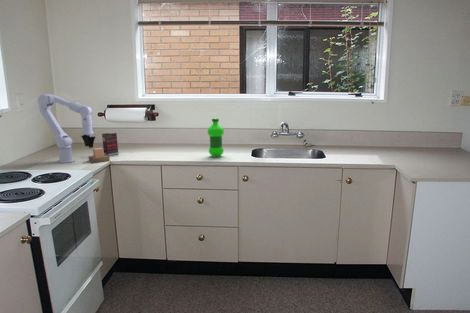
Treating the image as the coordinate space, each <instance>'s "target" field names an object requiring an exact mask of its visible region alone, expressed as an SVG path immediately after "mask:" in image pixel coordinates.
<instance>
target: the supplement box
mask: <svg viewBox="0 0 470 313" xmlns="http://www.w3.org/2000/svg"><path fill="white" fill-rule="evenodd" d="M117 135H118V134H117V132H116V131H115V132H114V131H113V132H105V133H102V134H101V136H102V146H103V147H102V148H103V152H104V155H107V156H112V157H114V156H113V155H118V156H119V146H118V136H117Z"/></svg>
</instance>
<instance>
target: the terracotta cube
mask: <svg viewBox="0 0 470 313" xmlns="http://www.w3.org/2000/svg"><path fill="white" fill-rule="evenodd" d="M92 154H93V155H92V156H94V157H103V156H104V150H103V147H96V148H95V147H93V148H92Z"/></svg>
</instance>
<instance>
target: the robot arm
mask: <svg viewBox="0 0 470 313" xmlns="http://www.w3.org/2000/svg"><path fill="white" fill-rule="evenodd" d="M37 103H38V106H39V112H40V114H41V115H42V117H43V118H44V121H46V123H47V125H48V127H49V128H50V129H51V131H52V133H53V134H54V136H55V137H54V141H55V142H56V146H57V148H58V159H57V161H58V162H59V164H65V163H67V164H68V163H73V162H75V160H73V153H72V145H73V142H74V141H73V138H72V137H70V136H69V135H68V134H67V133H66V132H65V131H64V130H63V129H62V127H61V126H60V124H59V123H58V120H57V119H56V116H54V114H53V112H52V111H51V109H52V107H53V106H54V104H59V105H62V106H65V107H68V109H69V110H70V111H73V112H75V113H78V114H79V115H80V116H81V125H82V135H80V136H81V138H82V141H83V143H84V146H85V147H88V148H89V149H94V142H95V139H96V136H94V134H95V131H93V122H92V120H93V119H92V113H93V109H92V107H91V106H89V105H85V104H84V103H83V104H82V103H80V102H78V101H76V100H74V101H70V100H67V99H65V98H63V97H60V96H58V95H56V94H53V93H48V94H47V93H46V94H44V93H42V94H40V95H39V96H38V98H37Z"/></svg>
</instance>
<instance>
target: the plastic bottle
mask: <svg viewBox="0 0 470 313" xmlns="http://www.w3.org/2000/svg"><path fill="white" fill-rule="evenodd" d="M211 122H212V124H211V125H210V126H209V127H208V128H207V135H208V136H209V147H208V153H209V155H210V156H212V157H213V158H220V157H222V155H223V154H224V152H225V151H224V147H223V135H224V134H225V133H224V132H225V131H224V130H225V129H224V128H223V127H222V126H221V125H220V124H219V122H220V120H219V118H218V117H217V118H216V117H215V118H212V119H211Z"/></svg>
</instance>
